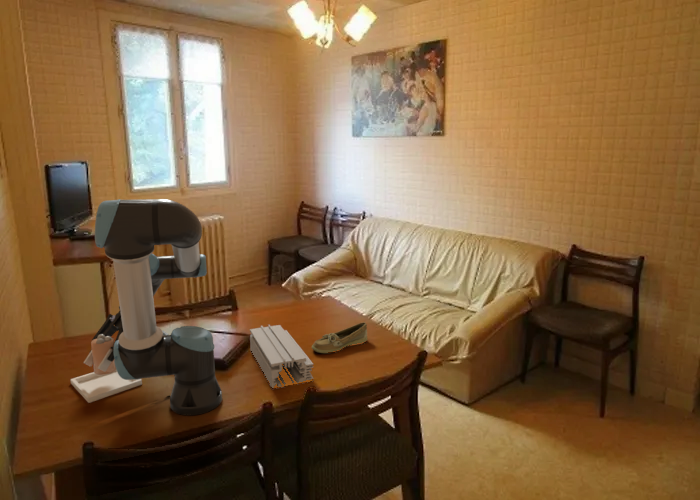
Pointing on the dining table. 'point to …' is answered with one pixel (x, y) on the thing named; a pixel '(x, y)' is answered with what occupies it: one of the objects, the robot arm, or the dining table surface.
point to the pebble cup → (102, 353)
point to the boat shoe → (341, 339)
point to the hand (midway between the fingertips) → (94, 367)
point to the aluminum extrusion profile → (279, 355)
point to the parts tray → (102, 385)
